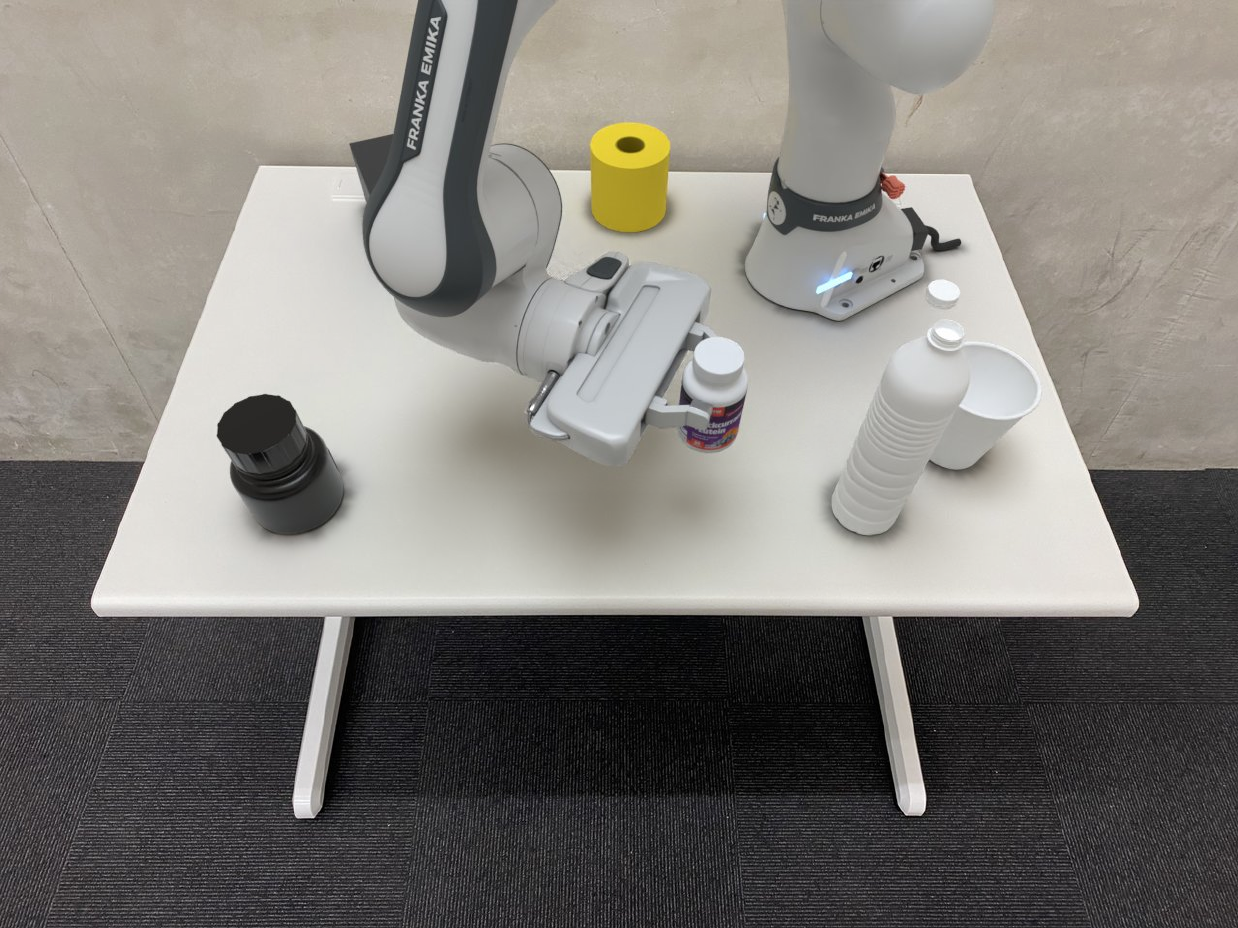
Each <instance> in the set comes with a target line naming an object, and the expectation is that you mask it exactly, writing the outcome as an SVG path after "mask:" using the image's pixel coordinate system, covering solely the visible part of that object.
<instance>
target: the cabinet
mask: <svg viewBox="0 0 1238 928" xmlns="http://www.w3.org/2000/svg"><path fill="white" fill-rule="evenodd" d="M392 139H393V133H391V134H386V135H382V136H381V135H380V136H376V137H372V138H368V139H363V140H358V141H354V142H350V143H349V144H348V145H349V148H350V151H351V155H352V158H353V163H354V165H355V169H356V173H357V175H358V179H359V182H360V186H361V189H362V193H363V196H364V200H365V204H366V203H367V201H368V199H369V197H370V195H371V193H372V191H373V189H374V187H375V185H376V184H377V182H378V180H379V178H380V176H381V174H382V172H383V170H384V167H385V165H386V162H387V159H388V156H389V152H390V148H391V143H392Z"/></svg>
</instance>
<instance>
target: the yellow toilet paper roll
mask: <svg viewBox="0 0 1238 928" xmlns="http://www.w3.org/2000/svg"><path fill="white" fill-rule="evenodd" d="M589 143H590V144H589V148H590V152H589V153H590V155H589V156H590V200H591V204H590V206H591V207H590V208H591V209H590V210H591V214H592V216H593V218H594V219H595V220H596V222H598V224H600V225H601V226H602V227H604V228H607V229H609V230H612V231H615V232H620V233H639V232H645V231H647V230H649V229H652V228H654V227H655V226H657V225H659V223H661V222H662V221H663V219H664V218H665V216H666V211H667V201H668V200H667V197H668V195H667V194H668V184H669V171H670V170H669V169H670V157H671V156H670V155H671V142H670V139H669V138H668V136H667V135H666V134H665V133H664V132H663V131H662V130H660V129H658V128H657V127H655V126H652V125H649V124H646V123H640V122H627V121H626V122H617V123H614V124H609V125H607V126H605V127H602V128H600V129H598V131H596V132H595V134H593V136H592V138H591V139H590V142H589Z"/></svg>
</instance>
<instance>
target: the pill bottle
mask: <svg viewBox="0 0 1238 928" xmlns="http://www.w3.org/2000/svg"><path fill="white" fill-rule="evenodd" d="M745 360H746V359H745V352H744V350H743V348H742V347H741V345H740V344H739V343H737V342H735V341H734V340H732V339H731V338H727V337H724V336H723V337H722V336H718V337H711V338H707V339H705V340H703V341H701V342H700V343H699V344H698V345H697V346H696V348H695V350H694V352H693V357H692V359H691V360H690V361H688V363H687V364H686V366H685V367H684V369H683V372H682V377H681V383H680V392H679V399H678V400H679V401H678V405H690V404H691V402H692V400H693V399H694V398H695V399H698V400H701V401H702V402H703V403H709V404H711V405H712V406H713V407H714V411H713V416H712V419H711V421H710V423H709V425H708V427H707V429H706V430H699V429H696V428H693V427H690V426H687V425H685V426H680V427H676V432H677V435H678V437H679V439H680V440H681V442H682V443H683V444H684V445H685V446H686V447H687V448H689V449H690V450H692V451H694V452H697V453H702V454H716V453H720V452H722V451H725V450H726V449H729V448H730V446H732V445H733V444H734V443H735V441H736V439H737V437H738V433H739V430H740V429H739V428H740V425H741V420H742V415H743V411H744V406H745V402H746V397H747V393H748V389H749V375H748V372H747V369H746V368H745V366H744V365H745Z"/></svg>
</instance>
